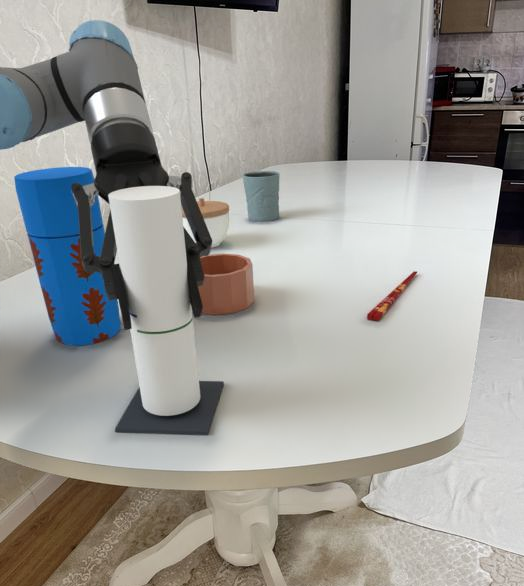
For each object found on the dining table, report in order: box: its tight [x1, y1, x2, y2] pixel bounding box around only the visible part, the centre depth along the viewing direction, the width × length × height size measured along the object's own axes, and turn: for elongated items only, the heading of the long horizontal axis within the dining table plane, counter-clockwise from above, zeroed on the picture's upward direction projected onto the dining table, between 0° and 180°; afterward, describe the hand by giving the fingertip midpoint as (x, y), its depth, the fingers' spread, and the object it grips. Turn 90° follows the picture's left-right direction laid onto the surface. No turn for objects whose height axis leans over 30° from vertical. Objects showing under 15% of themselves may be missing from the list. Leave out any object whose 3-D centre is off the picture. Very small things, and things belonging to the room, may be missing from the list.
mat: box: [114, 380, 225, 436], centre depth 65 cm, size 11×11×1 cm
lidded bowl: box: [181, 197, 230, 249], centre depth 125 cm, size 13×13×11 cm
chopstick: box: [366, 270, 418, 322], centre depth 94 cm, size 2×24×1 cm, turn 150°
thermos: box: [13, 166, 122, 347], centre depth 80 cm, size 11×11×25 cm
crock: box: [191, 253, 255, 316], centre depth 93 cm, size 12×12×7 cm
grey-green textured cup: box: [242, 170, 280, 223], centre depth 145 cm, size 10×10×12 cm
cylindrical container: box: [108, 186, 200, 416], centre depth 59 cm, size 7×7×25 cm
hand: (163, 318), depth 56 cm, fingers closed on cylindrical container, 7 cm apart
